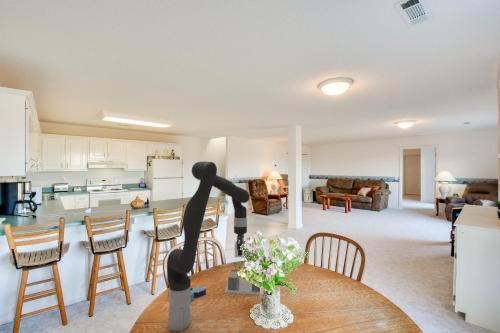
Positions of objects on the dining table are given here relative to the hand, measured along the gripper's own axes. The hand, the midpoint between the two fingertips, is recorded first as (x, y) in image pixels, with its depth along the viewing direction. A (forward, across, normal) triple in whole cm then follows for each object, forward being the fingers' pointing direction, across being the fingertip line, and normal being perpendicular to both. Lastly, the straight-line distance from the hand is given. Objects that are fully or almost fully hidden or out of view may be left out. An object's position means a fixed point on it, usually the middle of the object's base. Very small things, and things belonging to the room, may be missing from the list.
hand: (240, 253), depth 143 cm
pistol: (+20, -10, +28) cm, 36 cm away
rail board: (+20, +1, -3) cm, 20 cm away
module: (+1, 0, 0) cm, 1 cm away
